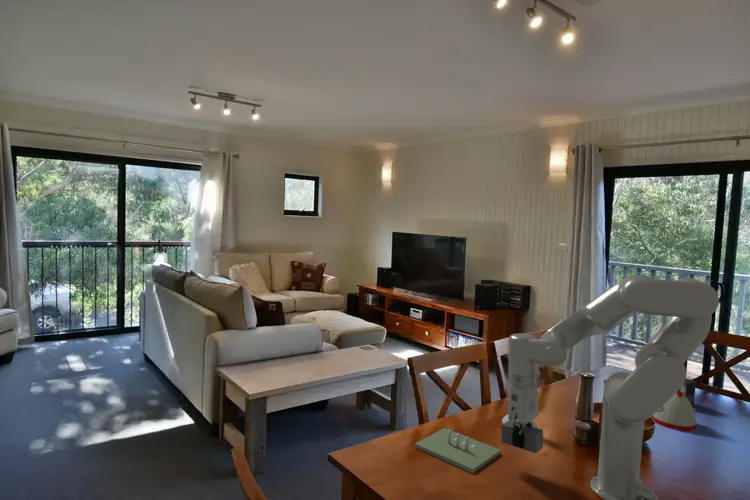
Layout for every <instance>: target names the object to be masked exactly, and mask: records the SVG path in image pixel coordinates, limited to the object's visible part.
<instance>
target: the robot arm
mask: <svg viewBox="0 0 750 500" xmlns="http://www.w3.org/2000/svg"><path fill="white" fill-rule="evenodd" d="M719 297H720V296H719V294H718V292H717V291H716V290H715V288H714V287H712V286H711V285H710V284H708V283H707V282H704V281H701V280H699V279H695V278H694V277H681V278H678V279H676V280H668V279H667V280H666V279H658V278H657V279H654V278H648V277H646V276H643V275H640V274H630V275H627V276H625V277H624V278H622V279H620V280H619V281H618V282H617V283H614V284H613V285H612V286H610V287H609V288H608V289H606V290H605V291H604V292H602V293H601V294H599V296H597V297H595V298H594V299H592V300H591V301H590V302H588V303H587V304H586V305H584V306H582V307H581V308H579V309H578V310H576V311H575V312H573V313H572V314H570V315H567V317H565V318H564V319H562V320H561V321H559V322H558V323H556V324H555V325H554V326H552V327H551V328H549V329H548V330H547V331H546V332H544V333H543V334H542V335H541V337H540V338H537V337H536V336H535V335H534V334H530V333H525V332H523V333H522V332H521V333H520V332H519V333H513V334H511V335H509V338H508V385H509V389H508V390H509V391H508V400H507V401H508V402H507V403H508V404H507V414H508V418H509V420H510V421H509V427H510V428H511V431H512V445H513V446H512V447H515V446H516V447H515V448H518V447H519V448H518V449H521V448H524V434H523V425H528V426H531V427H532V426H533V420H535V419H537V417H538V415H539V393H538V378H537V366H538V365H542V366H546V367H552V368H553V367H559V366H562V365H563V364H564V363H565V362H566V360H567V357H568V351H569V350H570V349H572V348H574V347H575V346H576V345H578V344H579V343H580V342H582V341H585V340H587V339H588V338H590V337H593V336H598V335H604V334H606V333H609V332H610V331H613V329H615V328H616V327H618V326H619V325H620V324H622V323H623V322H625V321H626V320H628V319H629V318H631V317H632V316H634V315H636V314H637V313H638V314H644V315H645V314H646V315H653V316H660V317H661V316H662V317H669V319H668V320H667V321H666V323H665V324H664V326H663V327H661V328H660V329H659V331H658V332H657V333H656V334H655V335H654V336H653V337H652V338H650V340H649V341H647V343H646V344H644V345H643V346H641V348H640V349H639V350H638V351H637V353H636V355H635V357H634V364H635V368H634V369H633V371H631V372H629V371H628V372H627V371H616V372H614V373H612V374H611V375H609V376H608V377H607V379H606V380H605V382H604V386H603V392H602V393H603V394H602V418H601V429H600V440H599V441H600V442H599V443H600V444H599V455H598V464H597V466H598V467H597V475H596V476H593V477H592V478H591V480H590V485H589V486H590V488H591V490H592V492H593V493H594V494H596V495H597V497H600V498H601V499H603V500H658V498H659V497H658V495H657V494H655V490H653V489H651V488H649V487H645V485H643V479H642V478H640V472H641V461H642V460H641V459H642V449H643V440H644V428H645V422H646V421H647V420H648V419H651V416H652V415H653V414H654V413H655V412H657V411H658V410H659V409H660V408H661V407H662V406H663V405H664V404H665V403H666V402H667V401H668V400H669V399H670V398H671V397H673V396H674V395H675V394H676V393H677V392H678V391H679V389H680V388H681V387H682V385H683V383H684V381H685V378H686V377H687V371H686V370H687V369H686V366H685V362H686V361H687V360H688V359H689V358H690V357H691V356H692V355H693V354H694V353H695V352H696V350H697V349H698V348H699V347H700V346H701V345H702V344H703V343H704V341H705V340H706V339H707V337H708V335H709V332H710V330H711V326H712V319H713V318H712V314H714V313H715V311H716V310H717V309H718V307H719V305H720V304H719V303H720V298H719ZM686 379H687V378H686ZM516 419H518V420H519V421H516ZM516 424H520V428H519V427H518V426H516Z"/></svg>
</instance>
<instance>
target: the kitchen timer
mask: <svg viewBox="0 0 750 500" xmlns="http://www.w3.org/2000/svg"><path fill="white" fill-rule="evenodd" d="M680 391H681V388H680V389H679V391H678V392H677V393H676V394H675V395H674V396H673V397H671V398H670V399H669V400H668V401H667V402H666V403H665V404H664V405H663V406H662V407H661V408H660V409H659V410H658V411H657V412H655V413H654V414H653V415H652V416H651V417H650V419H651V418H653V420H654V421H653V423H655V424H656V425H659V426H662V427H664V428H668V429H670V430H675V431H682V432H683V431H684V432H685V431H686V432H691V431H695V429H696V426H697V420H696V407H692V405H691V403H690V402H689V400H688V399H687V398H686V396H684V395H683V392H680Z"/></svg>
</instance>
